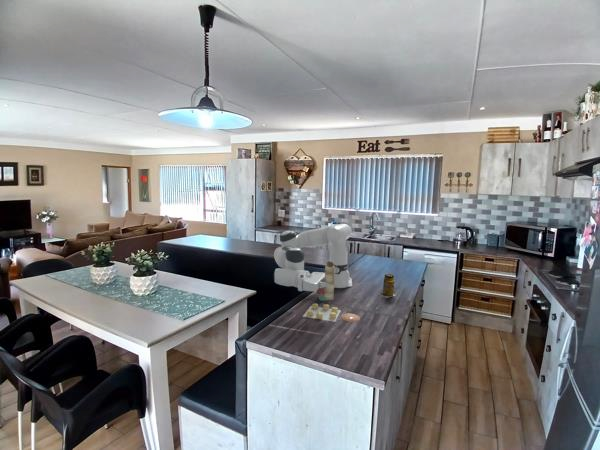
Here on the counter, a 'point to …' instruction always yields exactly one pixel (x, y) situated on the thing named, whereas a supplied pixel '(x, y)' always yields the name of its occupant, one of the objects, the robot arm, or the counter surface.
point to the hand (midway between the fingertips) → (331, 282)
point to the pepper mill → (329, 278)
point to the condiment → (388, 286)
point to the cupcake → (321, 294)
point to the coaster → (350, 317)
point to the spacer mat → (322, 312)
